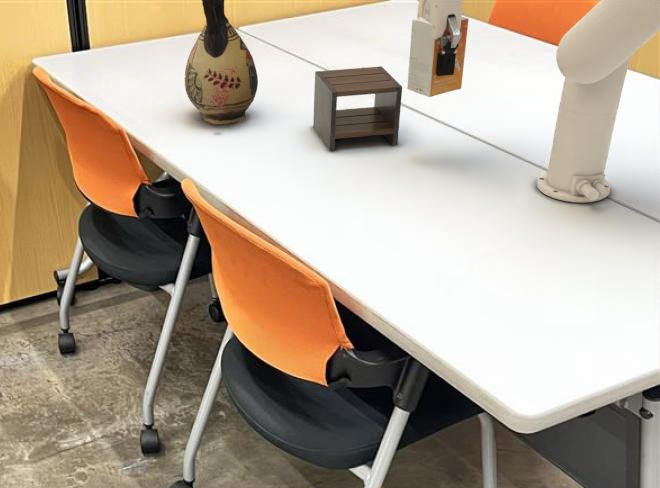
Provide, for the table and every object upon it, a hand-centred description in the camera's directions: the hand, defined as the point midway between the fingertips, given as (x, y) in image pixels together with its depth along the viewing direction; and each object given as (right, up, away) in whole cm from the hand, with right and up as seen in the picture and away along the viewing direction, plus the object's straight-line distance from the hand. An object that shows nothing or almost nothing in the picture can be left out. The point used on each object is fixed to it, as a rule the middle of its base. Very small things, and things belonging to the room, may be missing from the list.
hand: (436, 67), depth 180 cm
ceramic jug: (-39, -3, +31) cm, 50 cm away
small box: (0, -4, +2) cm, 4 cm away
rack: (-12, -9, +20) cm, 25 cm away
